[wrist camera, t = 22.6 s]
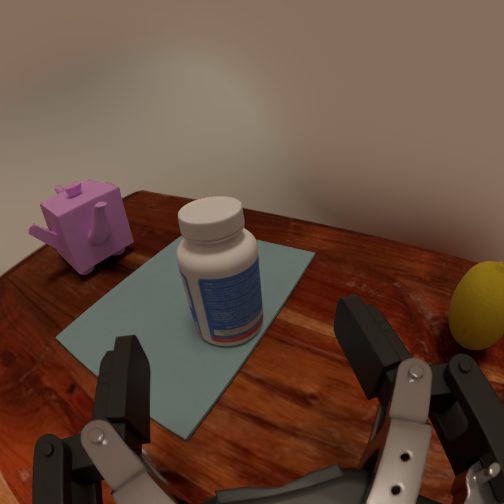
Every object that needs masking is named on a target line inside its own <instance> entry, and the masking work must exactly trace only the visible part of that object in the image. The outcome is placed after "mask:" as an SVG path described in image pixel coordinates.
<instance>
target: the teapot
mask: <svg viewBox="0 0 504 504" xmlns="http://www.w3.org/2000/svg"><path fill="white" fill-rule="evenodd" d="M64 189H65V190H64ZM55 191H56V192H57V195H56V196H53V197H51V198H49V199H48V200H46V201H44V202H42V203H40V206H41V209H42V212H43V215H44V218H45V220H46V223H47V226H48V228H49V230H47V229H45V228H42V227H40V226H37V225H35V224H33V225H32V226H31V227H30V228H29V229H28V230H27V232H28V233H29V234H30V235H32V236H34V237H36V238H37V239H39V240H41V241H43V242H44V243H46V244H48V245H50V246H52V247H54V248H56V250H57V251H58V252H59V254H60V255H61V256H62V257H63V258H64V259H65V260H66V261H67V262H68V263H69V264H70V265H71V266H72V267H73V268H74V269H75V270H76V271H77V272H78V273H79V274H82V275H86V274H89V273H91V272H92V271H93V270H94V265H96V264H98V263H99V262H101V261H103V260H104V259H106V258H108V257H109V256H111V255H113V256H116V255H120V254H122V253H123V252H124V251H125V248H124V247H126V246H128V245H129V244H131V243H133V242H134V241H133V238H132V234H131V231H130V227H129V224H128V220H127V216H126V213H125V209H124V205H123V201H122V197H121V193H120V189H119V187H117V186H115V185H114V184H112V183H101V182H97V181H92V180H87V181H85V182H83V183H81V182H74V183H71V184H69V185H67V186H66V187H65V188H63V187H62V186H60V185H59V186H56V187H55Z"/></svg>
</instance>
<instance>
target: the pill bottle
mask: <svg viewBox="0 0 504 504" xmlns="http://www.w3.org/2000/svg"><path fill="white" fill-rule="evenodd" d="M178 220H179V225H180V231H181V234H182V236H183V237H184V238H183V240H182V241H181V242H180V244H179V246H178V248H177V253H176V256H177V262H178V266H179V270H180V274H181V278H182V282H183V285H184V289H185V293H186V296H187V300H188V303H189V307H190V310H191V314H192V317H193V320H194V323H195V326H196V329H197V331H198V333H199V334H200V335H201V337H202V338H203V339H205V340H206V341H208V342H210V343H212V344H215V345H219V346H233V345H238V344H241V343H244V342H246V341H248V340H249V339H251V338H252V337H254V336H255V335H256V334H257V333H258V331H259V330H260V328H261V326H262V323H263V305H262V294H261V281H260V269H259V256H258V247H257V242H256V239H255V238H254V236H253V235H252V234H251V233H250V232H249V231H248V230H246V229H245V228H244V217H243V209H242V204H241V203H240V202H239V201H238V200H237V199H234V198H231V197H223V196H217V197H207V198H203V199H199V200H196V201H193V202H191V203H188V204H187V205H185V206H184V207H182V208H181V209H180V211H179V213H178Z"/></svg>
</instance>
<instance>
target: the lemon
mask: <svg viewBox="0 0 504 504" xmlns="http://www.w3.org/2000/svg"><path fill="white" fill-rule="evenodd" d="M448 323H449V328H450V331H451V334H452V336H453V337H454V339H455V340H456V342H457V343H458V344H460V345H461V346H462V347H464V348H466V349H470V350H482V349H485V348H488V347H490V346H491V345H493V344H494V343H496V342H497V341H498V340H499V339H500V338H501V337H502V336H503V334H504V263H503V262H501V261H499V262H493V261H486V262H482V263H479V264H477V265H475V266H474V267H472V268H471V269H470V270H469V271H468V272H467V273H466V274H465V275H464V277H463V278H462V280H461V281H460V283H459V284H458V286H457V287H456V289H455V291H454V293H453V296H452V299H451V303H450V307H449V312H448Z"/></svg>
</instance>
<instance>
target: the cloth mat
mask: <svg viewBox="0 0 504 504" xmlns="http://www.w3.org/2000/svg"><path fill="white" fill-rule="evenodd" d="M183 238H184V237H183V236H180V237H179V238H178V239H176V240H175V241H174V242H172V243H171V244H170V245H168V246H167V247H166V248H164V249H163V250H162V251H160V252H159V253H158V254H157V255H155V256H154V257H153V258H151V259H150V260H149V261H147V262H146V263H145V264H144V265H142V266H141V267H140V268H138V269H137V270H136V271H135V272H133V273H132V274H131V275H130V276H128V277H127V278H126V279H125V280H123V281H122V282H121V283H120V284H118V285H117V286H116V287H115V288H113V289H112V290H111V291H110V292H108V293H107V294H106V295H105V296H103V297H102V298H101V299H100V300H99V301H97V302H96V303H95V304H94V305H93V306H91V307H90V308H89V309H88V310H87V311H85V312H84V313H83V314H82V315H81V316H80V317H78V318H77V319H76V320H75V321H74V322H72V323H71V324H70V325H69V326H68V327H67V328H66V329H64V330H63V331H62V332H61V333H60V334H59V335H58V336H56V339H57V340H58V341H59V342H60V343H61V344H62V345H63V346H64V347H65V348H66V349H67V350H68V351H69V352H70V353H71V354H72V355H73V356H74V357H75V358H76V359H77V360H78V361H80V362H81V363H82V364H83V365H84V366H85V367H86V368H87V369H88V370H90V371H91V372H92V373H93V374H94V375H95V376H96V377H98V375H99V368H100V363H101V360H102V358H103V357H104V355H105V354H106V352H107V351H111V350H114V344H115V339H116V337H117V336H126V335H136V336H137V338H138V340H139V342H140V344H141V346H142V348H143V350H144V352H145V354H146V356H147V358H148V360H149V364H150V370H151V378H150V418H151V419H153V420H154V421H156V422H157V423H159V424H160V425H162V426H163V427H165V428H166V429H168V430H169V431H171V432H173V433H174V434H176V435H177V436H179V437H181V438H182V439H184V440H186V441H187V440H188V439H189V438H190V437H191V435H192V434H193V433H194V431H195V430H196V429H197V427H198V426H199V425H200V424H201V422H202V421H203V420H204V418H205V417H206V416H207V414H208V413H209V412H210V410H211V409H212V408H213V406H214V405H215V404H216V402H217V401H218V400H219V398H220V397H221V395H222V394H223V393H224V391H225V390H226V389H227V387H228V386H229V384H230V383H231V382H232V380H233V379H234V377H235V376H236V375H237V373H238V372H239V370H240V369H241V368H242V366H243V365H244V363H245V362H246V360H247V359H248V358H249V356H250V355H251V353H252V352H253V350H254V349H255V347H256V346H257V345H258V343H259V342H260V340H261V339H262V337H263V336H264V334H265V333H266V331H267V330H268V328H269V327H270V325H271V324H272V322H273V321H274V319H275V318H276V316H277V315H278V313H279V312H280V310H281V309H282V307H283V306H284V304H285V303H286V301H287V299H288V298H289V296H290V295H291V293H292V292H293V290H294V289H295V287H296V285H297V284H298V282H299V281H300V279H301V277H302V276H303V274H304V273H305V271H306V270H307V268H308V266H309V265H310V263H311V261H312V260H313V258H314V257H315V253H313V252H309V251H304V250H300V249H295V248H291V247H286V246H282V245H277V244H273V243H268V242H264V241H259V240H256V242H257V247H258V256H259V269H260V281H261V294H262V305H263V323H262V326H261V328H260V330H259V331H258V333H257V334H256V335H255V336H254V337H252V338H251V339H249V340H248V341H246V342H244V343H241V344H238V345H233V346H219V345H215V344H212V343H210V342H208V341H206V340H205V339H203V338H202V337H201V335H200V334H199V333H198V331H197V329H196V326H195V323H194V320H193V317H192V314H191V310H190V307H189V303H188V300H187V296H186V293H185V289H184V285H183V282H182V278H181V274H180V270H179V266H178V262H177V256H176V253H177V248H178V246H179V244H180V242H181V241H182V240H183Z"/></svg>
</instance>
